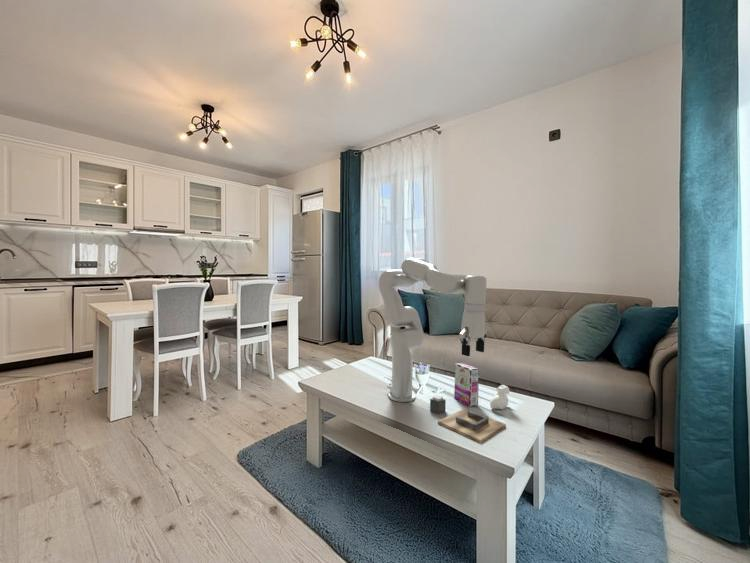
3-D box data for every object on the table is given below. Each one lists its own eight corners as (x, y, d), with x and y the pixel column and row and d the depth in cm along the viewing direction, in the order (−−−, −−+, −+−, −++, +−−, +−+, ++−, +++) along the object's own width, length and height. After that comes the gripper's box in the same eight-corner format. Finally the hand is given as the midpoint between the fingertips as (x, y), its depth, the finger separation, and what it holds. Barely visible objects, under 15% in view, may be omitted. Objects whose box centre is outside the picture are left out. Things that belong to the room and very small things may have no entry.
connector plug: (430, 410, 132) (430, 396, 131) (436, 408, 135) (437, 394, 134) (438, 414, 128) (439, 400, 128) (445, 411, 131) (445, 397, 131)
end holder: (437, 423, 120) (438, 415, 120) (464, 410, 132) (464, 403, 132) (480, 442, 107) (480, 434, 107) (505, 426, 118) (505, 419, 118)
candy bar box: (478, 405, 138) (479, 368, 137) (469, 407, 136) (470, 369, 135) (462, 396, 148) (463, 362, 148) (453, 398, 146) (454, 363, 146)
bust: (494, 417, 132) (511, 401, 127) (480, 402, 136) (497, 385, 131) (505, 408, 140) (521, 393, 135) (492, 394, 144) (508, 379, 139)
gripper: (478, 306, 126) (476, 348, 127) (452, 308, 115) (451, 354, 115) (495, 308, 120) (493, 352, 121) (470, 310, 109) (468, 359, 110)
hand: (472, 353), depth 118 cm, fingers open, 9 cm apart
